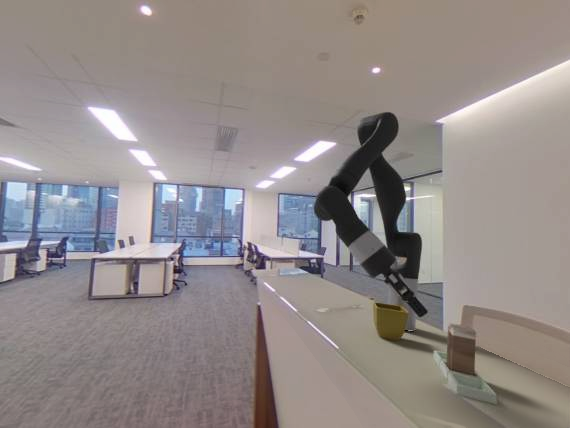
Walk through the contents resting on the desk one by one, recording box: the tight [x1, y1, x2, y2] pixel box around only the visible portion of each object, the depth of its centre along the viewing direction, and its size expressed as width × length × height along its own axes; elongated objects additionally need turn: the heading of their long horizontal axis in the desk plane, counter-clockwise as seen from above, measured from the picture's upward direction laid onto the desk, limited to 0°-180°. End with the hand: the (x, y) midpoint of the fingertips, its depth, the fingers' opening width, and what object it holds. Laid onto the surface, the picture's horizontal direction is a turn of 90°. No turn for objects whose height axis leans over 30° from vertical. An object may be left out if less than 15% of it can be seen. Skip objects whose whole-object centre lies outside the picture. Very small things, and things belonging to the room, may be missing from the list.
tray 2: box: [439, 360, 483, 380], centre depth 56 cm, size 6×6×2 cm
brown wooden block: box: [446, 322, 477, 376], centre depth 57 cm, size 4×4×10 cm
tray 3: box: [447, 372, 498, 405], centre depth 50 cm, size 6×6×2 cm
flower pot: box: [372, 301, 409, 341], centre depth 79 cm, size 9×9×9 cm
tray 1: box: [433, 350, 447, 367], centre depth 62 cm, size 6×6×2 cm
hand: (420, 311), depth 60 cm, fingers open, 8 cm apart
